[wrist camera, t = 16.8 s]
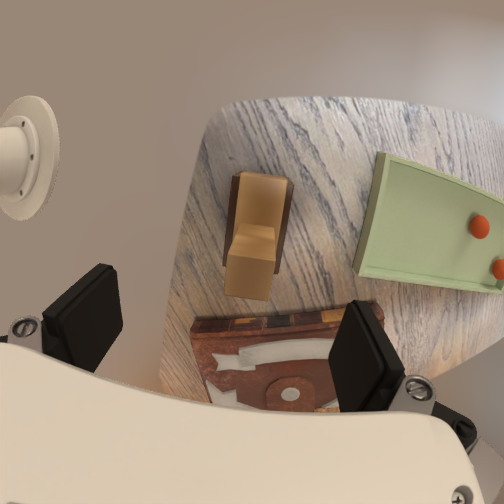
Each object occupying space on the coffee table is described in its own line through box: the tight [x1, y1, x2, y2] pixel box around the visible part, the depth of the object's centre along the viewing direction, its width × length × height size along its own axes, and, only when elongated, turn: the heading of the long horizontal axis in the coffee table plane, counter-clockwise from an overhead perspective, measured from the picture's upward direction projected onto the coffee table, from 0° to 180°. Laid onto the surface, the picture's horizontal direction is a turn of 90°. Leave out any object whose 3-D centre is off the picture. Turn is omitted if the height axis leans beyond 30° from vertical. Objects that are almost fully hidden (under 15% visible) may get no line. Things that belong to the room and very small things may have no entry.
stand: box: [223, 171, 294, 274], centre depth 25 cm, size 5×8×6 cm, turn 172°
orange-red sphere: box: [492, 259, 504, 280], centre depth 26 cm, size 3×3×3 cm
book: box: [190, 303, 385, 413], centre depth 33 cm, size 23×16×5 cm
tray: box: [352, 153, 504, 295], centre depth 26 cm, size 27×13×2 cm, turn 82°
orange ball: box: [470, 215, 490, 239], centre depth 24 cm, size 3×3×3 cm
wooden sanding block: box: [223, 171, 288, 301], centre depth 18 cm, size 3×9×10 cm, turn 173°
